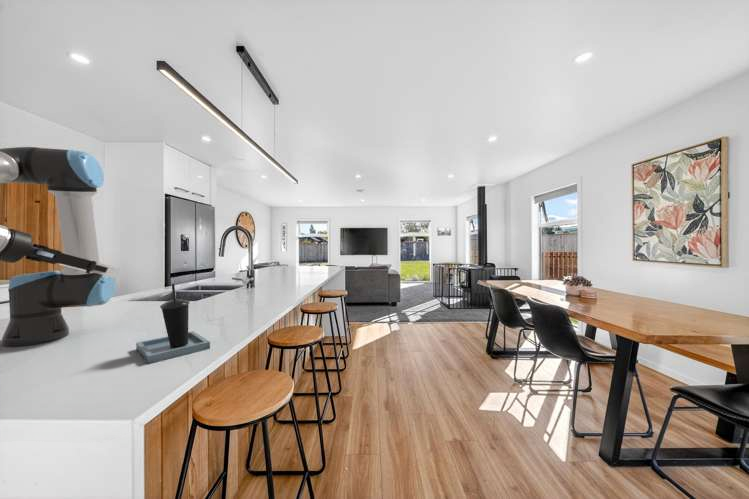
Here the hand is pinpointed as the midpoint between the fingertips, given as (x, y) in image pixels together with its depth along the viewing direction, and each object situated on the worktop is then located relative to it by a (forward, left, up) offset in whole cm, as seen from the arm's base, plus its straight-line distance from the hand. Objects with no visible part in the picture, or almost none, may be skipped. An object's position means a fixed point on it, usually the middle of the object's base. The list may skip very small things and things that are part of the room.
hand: (101, 270), depth 86 cm
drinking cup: (+8, +17, -25) cm, 31 cm away
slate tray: (+7, +16, -26) cm, 31 cm away
